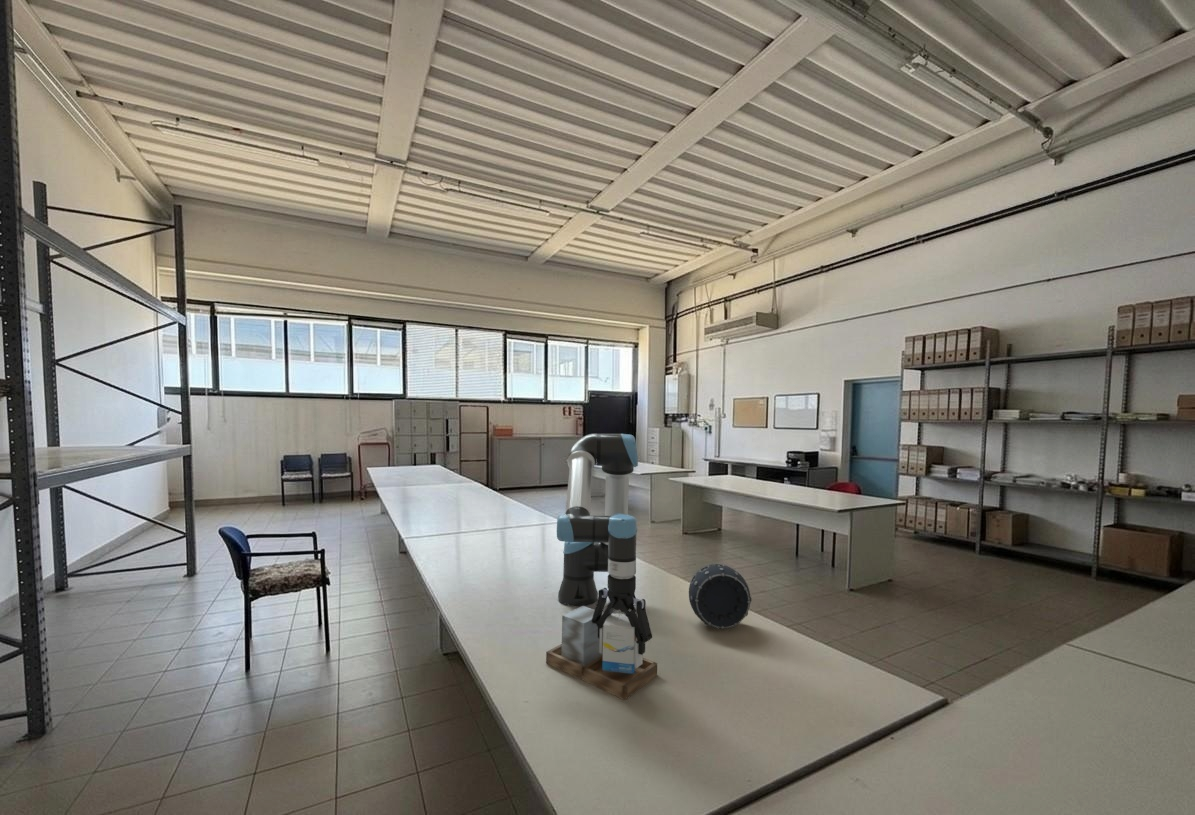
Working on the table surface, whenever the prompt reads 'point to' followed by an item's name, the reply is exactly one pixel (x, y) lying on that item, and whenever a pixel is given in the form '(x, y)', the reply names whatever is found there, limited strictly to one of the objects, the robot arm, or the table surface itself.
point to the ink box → (618, 644)
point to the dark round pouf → (719, 596)
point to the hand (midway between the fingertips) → (620, 658)
